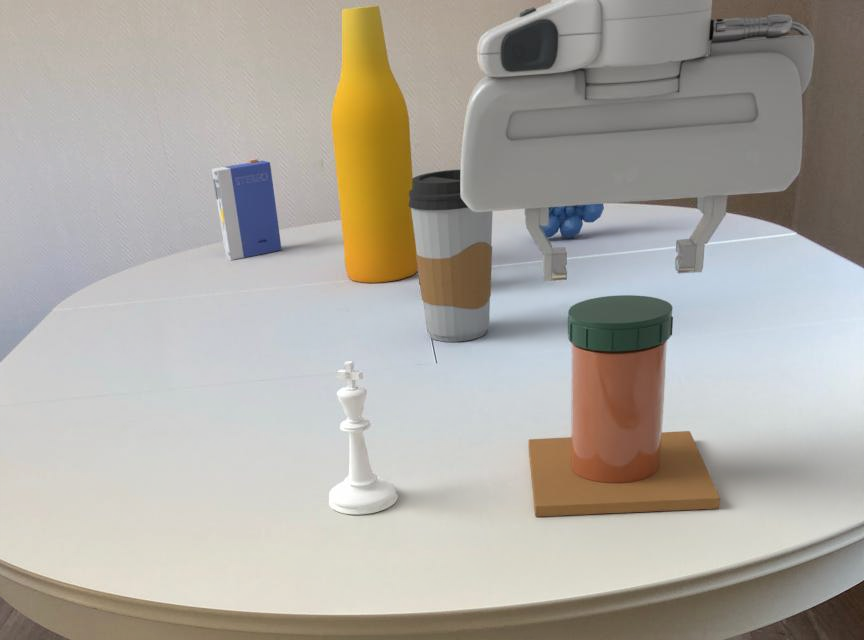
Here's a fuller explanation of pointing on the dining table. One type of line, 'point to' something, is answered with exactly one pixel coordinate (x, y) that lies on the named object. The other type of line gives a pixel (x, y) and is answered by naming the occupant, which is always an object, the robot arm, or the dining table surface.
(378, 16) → the beer bottle
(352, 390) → the chess piece
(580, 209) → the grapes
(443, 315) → the coffee cup
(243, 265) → the dining table surface
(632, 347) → the lid
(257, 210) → the walkman
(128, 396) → the dining table surface
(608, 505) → the mat
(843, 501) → the dining table surface
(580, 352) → the jar
